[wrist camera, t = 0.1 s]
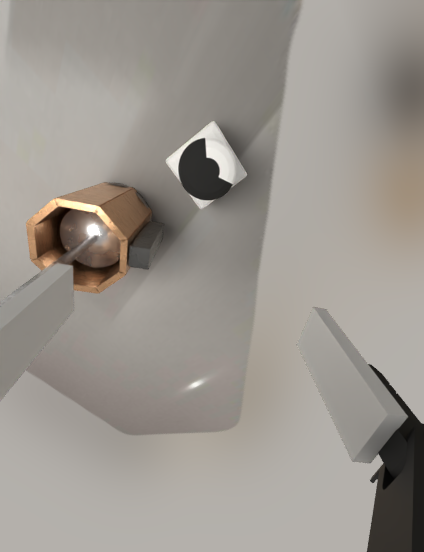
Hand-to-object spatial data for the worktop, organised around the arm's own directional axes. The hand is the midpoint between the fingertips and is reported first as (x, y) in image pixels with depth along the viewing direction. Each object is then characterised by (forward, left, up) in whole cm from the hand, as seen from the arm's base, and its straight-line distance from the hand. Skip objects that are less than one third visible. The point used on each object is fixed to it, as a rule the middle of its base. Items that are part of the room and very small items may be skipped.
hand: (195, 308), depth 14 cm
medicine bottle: (-6, 0, -28) cm, 29 cm away
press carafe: (+4, -11, -28) cm, 30 cm away
